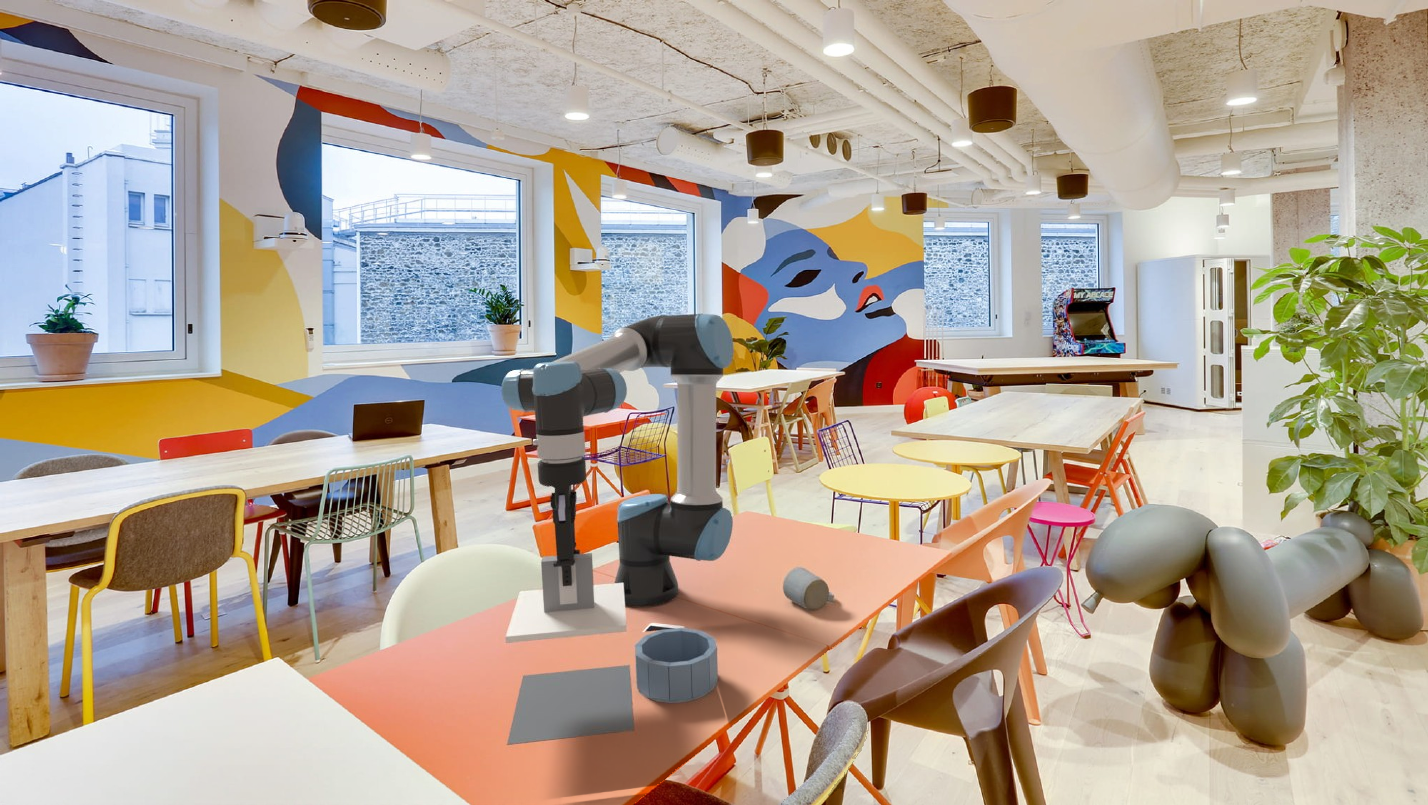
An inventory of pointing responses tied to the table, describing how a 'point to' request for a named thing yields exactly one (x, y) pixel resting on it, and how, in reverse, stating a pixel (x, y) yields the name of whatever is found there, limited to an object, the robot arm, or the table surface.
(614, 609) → the lid
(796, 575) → the ceramic mug
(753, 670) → the table surface
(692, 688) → the bowl
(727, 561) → the table surface
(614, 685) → the mat
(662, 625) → the cell phone
